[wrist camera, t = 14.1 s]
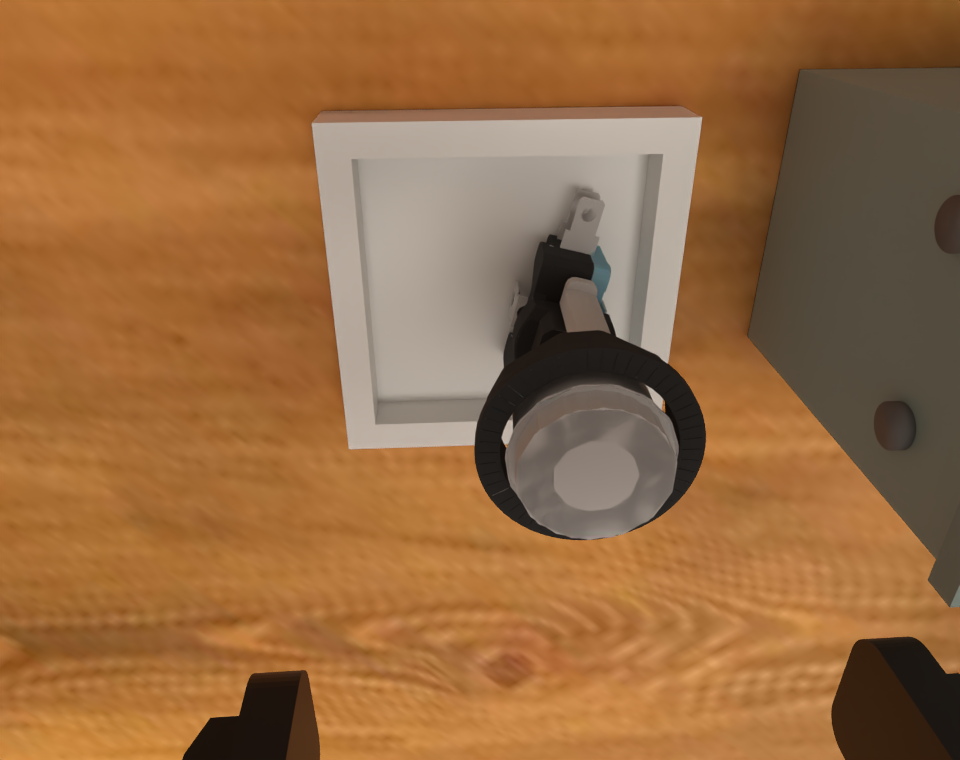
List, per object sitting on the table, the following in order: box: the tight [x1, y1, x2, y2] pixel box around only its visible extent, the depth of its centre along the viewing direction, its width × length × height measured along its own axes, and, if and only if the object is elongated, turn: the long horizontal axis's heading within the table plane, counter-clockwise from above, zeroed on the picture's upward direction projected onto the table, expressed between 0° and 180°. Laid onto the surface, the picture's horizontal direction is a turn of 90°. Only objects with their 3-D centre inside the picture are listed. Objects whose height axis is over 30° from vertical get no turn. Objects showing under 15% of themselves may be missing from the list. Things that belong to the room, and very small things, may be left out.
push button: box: [475, 189, 706, 540], centre depth 20 cm, size 7×5×10 cm
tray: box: [312, 106, 702, 449], centre depth 24 cm, size 11×11×2 cm
